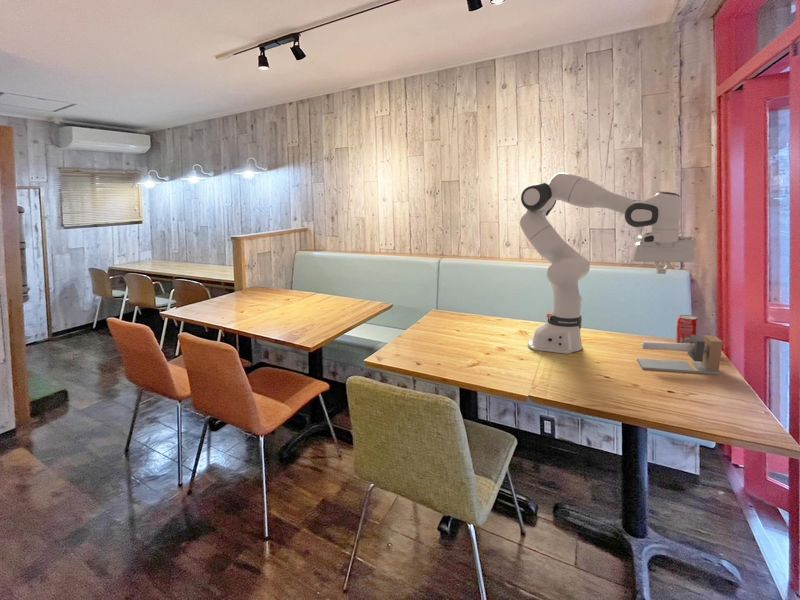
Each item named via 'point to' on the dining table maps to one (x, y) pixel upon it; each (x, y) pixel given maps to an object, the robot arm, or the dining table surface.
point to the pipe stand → (706, 366)
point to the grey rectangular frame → (697, 348)
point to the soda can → (686, 328)
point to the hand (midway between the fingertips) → (661, 273)
